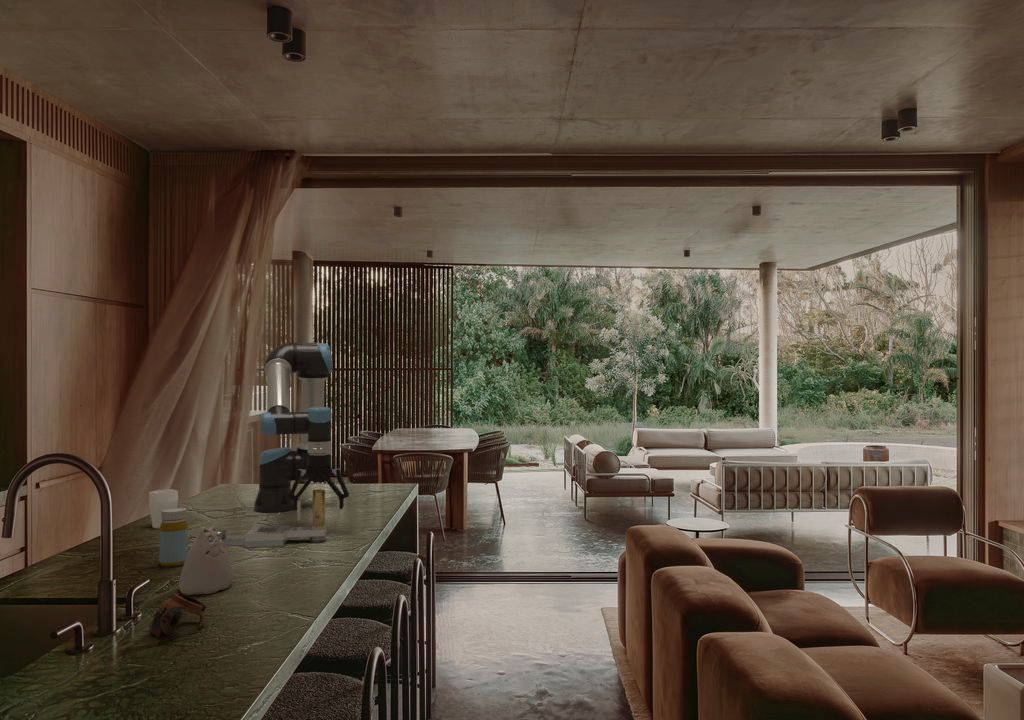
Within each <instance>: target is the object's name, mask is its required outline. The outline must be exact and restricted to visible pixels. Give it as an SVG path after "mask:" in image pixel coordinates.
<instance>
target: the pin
mask: <svg viewBox="0 0 1024 720" xmlns="http://www.w3.org/2000/svg"><path fill="white" fill-rule="evenodd" d="M315 526H326V490H325V489H320V488H319V489H313V490H312V527H315Z"/></svg>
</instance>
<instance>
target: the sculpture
mask: <svg viewBox="0 0 1024 720" xmlns="http://www.w3.org/2000/svg"><path fill="white" fill-rule="evenodd" d="M216 530H217V529H215V528H214V527H213V526H210V527H209V528H205V527H203V528H202V529H201V530H200V532H199V533H198V534H197V536H196V538H195V539H194V541H193V543H192V544H191V546H190V549H188V554H187V557H186V560H185V563H184V565H182V566H183V567H182V570H181V573H180V577H179V580H178V581H179V582H178V586H179V591H180V594H183V595H186V596H198V595H200V596H201V595H211V594H216V593H217V592H219V591H222V590H227V589H229V588H230V587H231V584H232V583H233V569H232V565H231V561H230V558H229V555H228V551H227V549H226V546H224V543H223V541H222V539H221V537H220V535H219V534H218V532H217V531H216Z"/></svg>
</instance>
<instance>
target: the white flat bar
mask: <svg viewBox="0 0 1024 720" xmlns="http://www.w3.org/2000/svg"><path fill="white" fill-rule="evenodd" d="M327 529H328V528H327V526H326V525H325V526H315V527H313V526H290V524H288V525H284V524H282V525H253V527H251V528H250V529H249V530H248V531H247V532H246V533H245V534H241V535H239V534H235V535H233V534H232V535H227V530H226V529H221V528H220V529H215V530H216V531H217V532H218V534H219V535H220V537H221V539H222V541H223V543H224V546H225V547H232V546H233V547H235V546H244V547H245V548H246V549H248V548H275V547H278V548H279V547H284V546H285V545H286V543H287V542H288V540H289V539H290V538H304V537H305V538H308V541H309V543H312V544H319V543H324V542H326V539H327V538H326V537H327V532H328V531H327Z"/></svg>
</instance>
